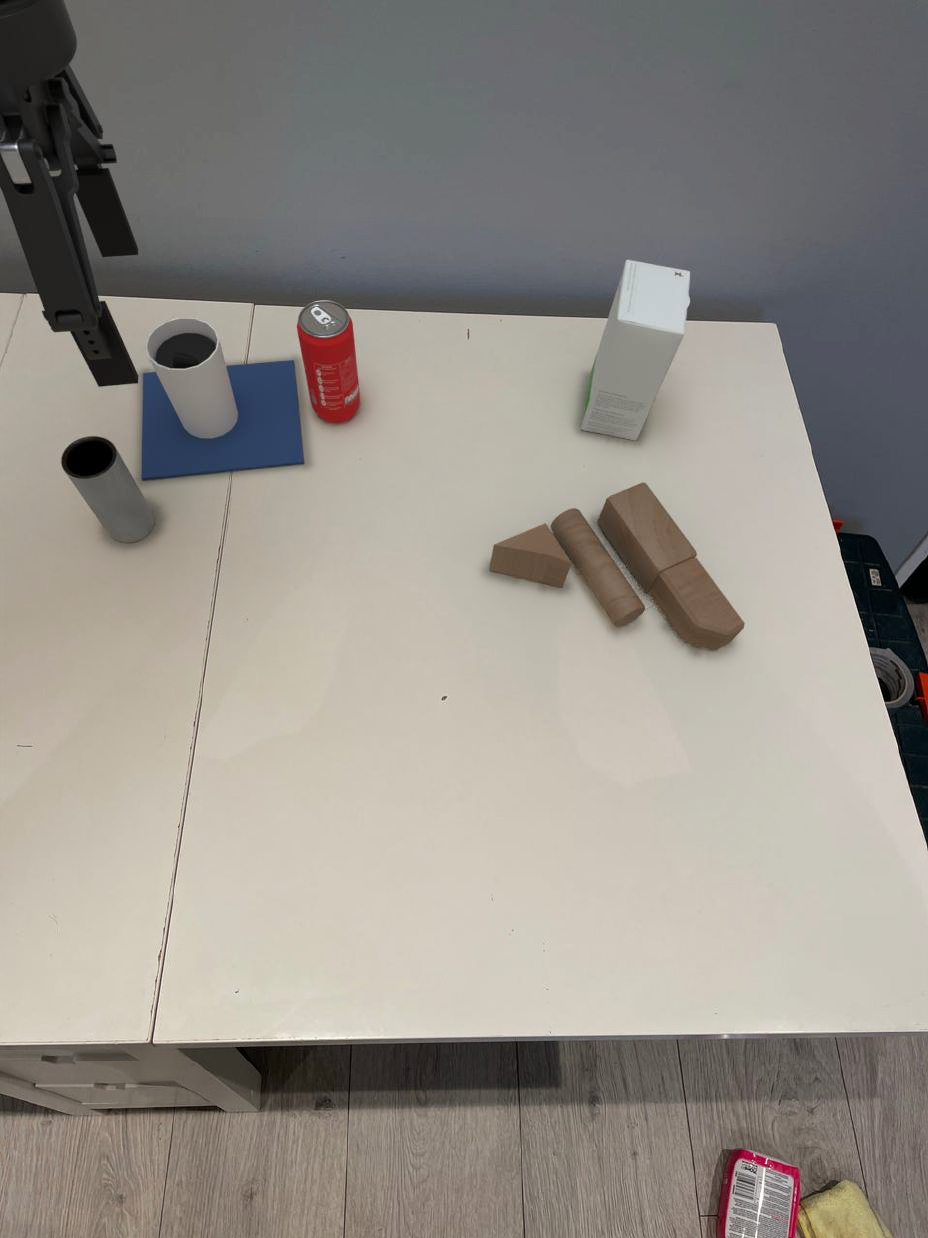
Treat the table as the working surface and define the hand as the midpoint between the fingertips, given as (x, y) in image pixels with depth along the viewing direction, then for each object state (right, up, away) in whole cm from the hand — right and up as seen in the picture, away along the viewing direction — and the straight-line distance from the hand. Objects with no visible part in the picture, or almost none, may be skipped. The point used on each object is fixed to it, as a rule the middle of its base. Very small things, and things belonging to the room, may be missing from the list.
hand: (119, 314), depth 56 cm
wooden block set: (+40, -21, +15) cm, 47 cm away
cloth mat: (+1, -2, +22) cm, 22 cm away
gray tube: (-6, -14, +16) cm, 22 cm away
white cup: (-1, -2, +22) cm, 22 cm away
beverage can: (+12, 0, +24) cm, 27 cm away
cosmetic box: (+43, 0, +26) cm, 50 cm away
